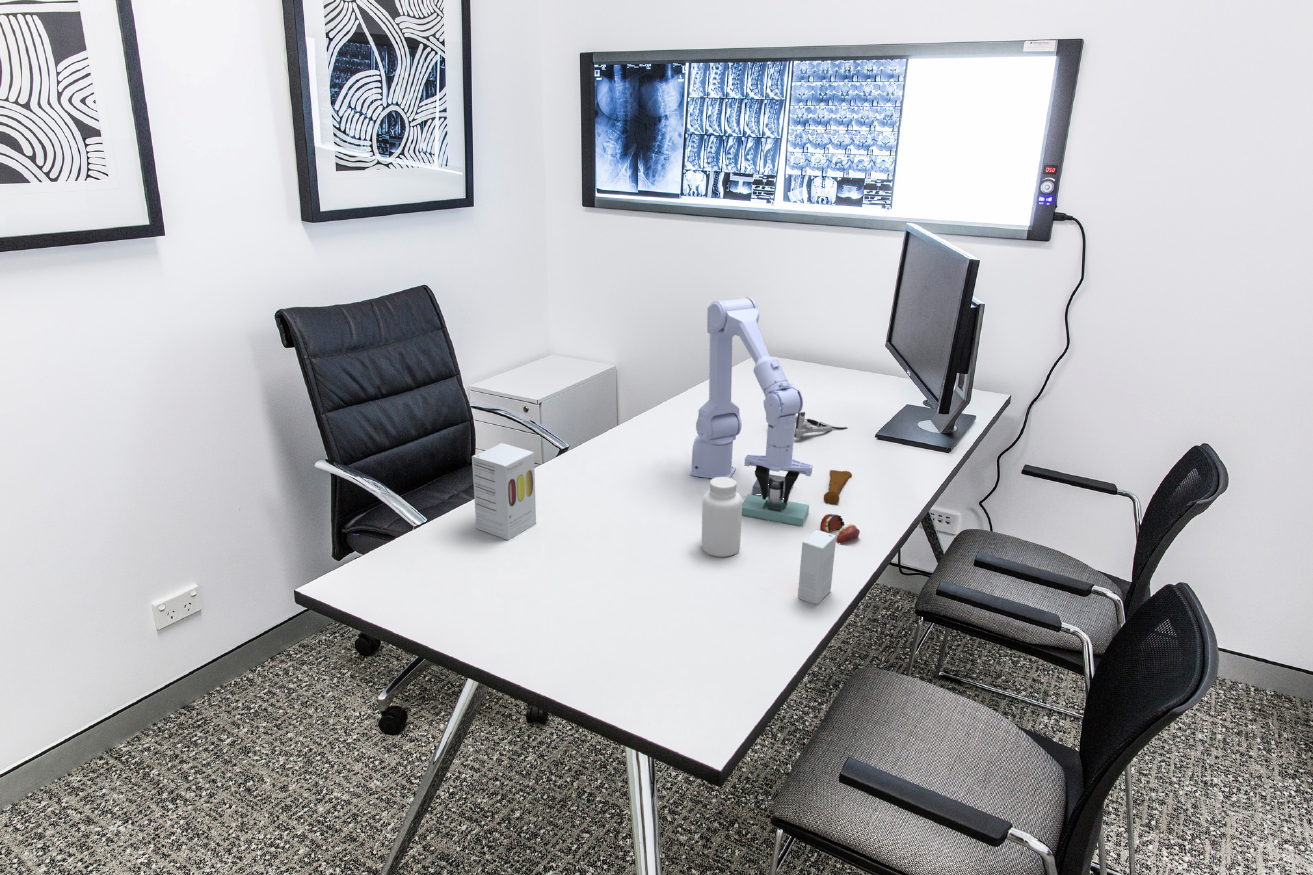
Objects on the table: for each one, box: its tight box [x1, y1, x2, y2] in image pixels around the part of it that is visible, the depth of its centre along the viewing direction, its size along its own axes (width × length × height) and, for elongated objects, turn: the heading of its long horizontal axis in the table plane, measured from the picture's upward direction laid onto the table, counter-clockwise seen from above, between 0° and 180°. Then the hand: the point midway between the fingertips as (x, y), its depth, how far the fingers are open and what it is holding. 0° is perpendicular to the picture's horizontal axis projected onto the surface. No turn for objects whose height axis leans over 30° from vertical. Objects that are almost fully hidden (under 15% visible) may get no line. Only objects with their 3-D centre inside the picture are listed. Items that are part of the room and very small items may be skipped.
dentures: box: [819, 513, 861, 545], centre depth 179 cm, size 6×4×8 cm
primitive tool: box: [823, 469, 853, 505], centre depth 201 cm, size 19×6×4 cm, turn 164°
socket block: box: [751, 473, 785, 498], centre depth 199 cm, size 8×8×2 cm
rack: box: [742, 493, 810, 527], centre depth 188 cm, size 14×7×2 cm, turn 70°
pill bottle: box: [701, 477, 743, 558], centre depth 171 cm, size 8×8×15 cm
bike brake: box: [794, 411, 848, 439], centre depth 235 cm, size 14×7×20 cm
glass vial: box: [767, 477, 784, 512], centre depth 186 cm, size 3×3×8 cm
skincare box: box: [797, 529, 837, 605], centre depth 156 cm, size 6×4×12 cm
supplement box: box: [471, 442, 537, 541], centre depth 177 cm, size 10×9×17 cm
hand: (775, 499), depth 187 cm, fingers open, 4 cm apart
